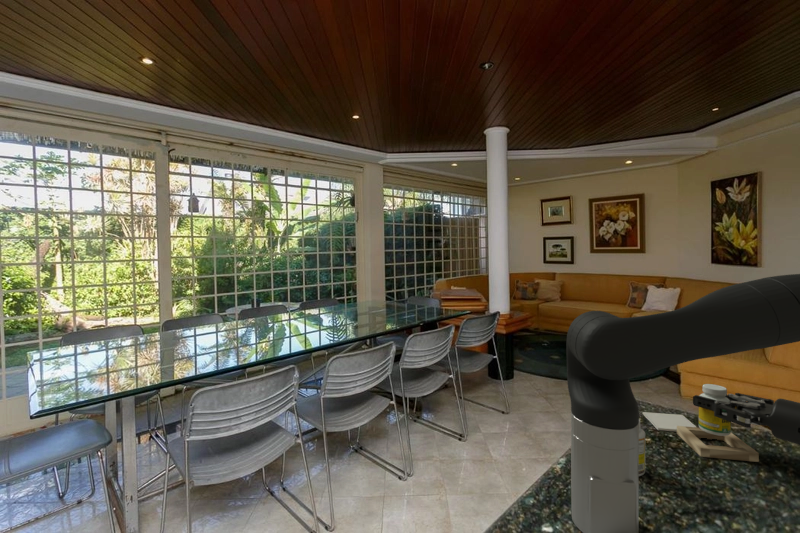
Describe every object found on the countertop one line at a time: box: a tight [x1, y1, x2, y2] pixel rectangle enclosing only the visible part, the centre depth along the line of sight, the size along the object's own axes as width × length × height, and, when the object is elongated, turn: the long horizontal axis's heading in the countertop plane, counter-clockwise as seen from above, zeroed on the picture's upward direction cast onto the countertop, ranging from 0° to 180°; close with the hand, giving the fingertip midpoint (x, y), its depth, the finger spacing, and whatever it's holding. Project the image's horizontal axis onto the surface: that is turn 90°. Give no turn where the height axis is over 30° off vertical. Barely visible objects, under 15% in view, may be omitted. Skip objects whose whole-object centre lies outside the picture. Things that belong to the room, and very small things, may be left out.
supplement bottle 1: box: [639, 418, 646, 477], centre depth 72 cm, size 6×6×10 cm
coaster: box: [642, 411, 697, 433], centre depth 91 cm, size 9×9×1 cm
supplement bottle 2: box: [698, 383, 732, 436], centre depth 80 cm, size 5×5×10 cm
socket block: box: [676, 426, 760, 463], centre depth 80 cm, size 10×10×2 cm
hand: (700, 397), depth 82 cm, fingers closed on supplement bottle 2, 5 cm apart
